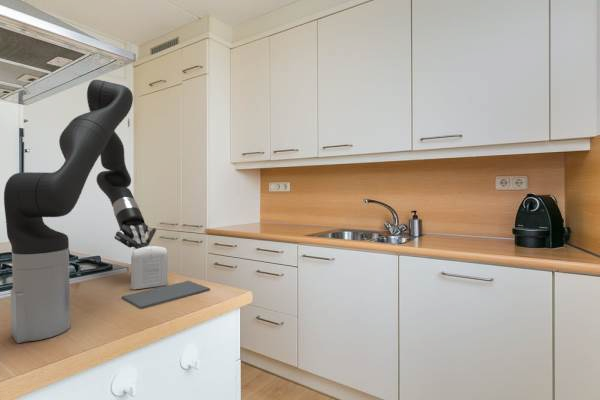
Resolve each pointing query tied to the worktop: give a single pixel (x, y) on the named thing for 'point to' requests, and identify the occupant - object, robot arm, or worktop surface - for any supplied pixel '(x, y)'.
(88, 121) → the robot arm
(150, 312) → the worktop surface
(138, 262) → the photo printer
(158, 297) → the mat
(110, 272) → the worktop surface
